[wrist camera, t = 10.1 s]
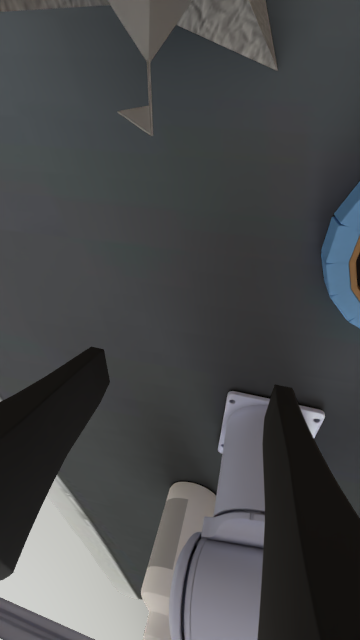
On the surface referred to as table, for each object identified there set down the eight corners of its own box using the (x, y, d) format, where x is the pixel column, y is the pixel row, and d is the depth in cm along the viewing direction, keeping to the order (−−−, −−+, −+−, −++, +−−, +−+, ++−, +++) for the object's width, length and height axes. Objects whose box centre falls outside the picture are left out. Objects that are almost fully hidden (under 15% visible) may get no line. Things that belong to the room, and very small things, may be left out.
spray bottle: (167, 475, 36) (100, 698, 22) (218, 487, 34) (181, 739, 20) (173, 500, 40) (119, 705, 26) (220, 511, 38) (190, 740, 24)
